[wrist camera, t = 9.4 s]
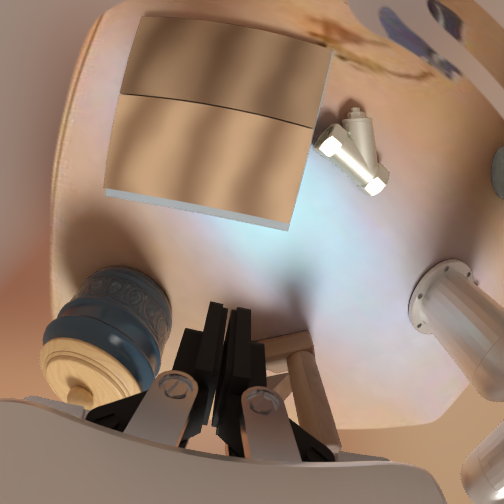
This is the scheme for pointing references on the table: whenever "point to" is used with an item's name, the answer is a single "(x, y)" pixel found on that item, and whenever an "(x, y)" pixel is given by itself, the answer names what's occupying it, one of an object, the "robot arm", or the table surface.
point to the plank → (207, 156)
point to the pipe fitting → (354, 151)
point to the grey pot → (498, 172)
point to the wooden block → (301, 384)
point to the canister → (107, 339)
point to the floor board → (227, 68)
